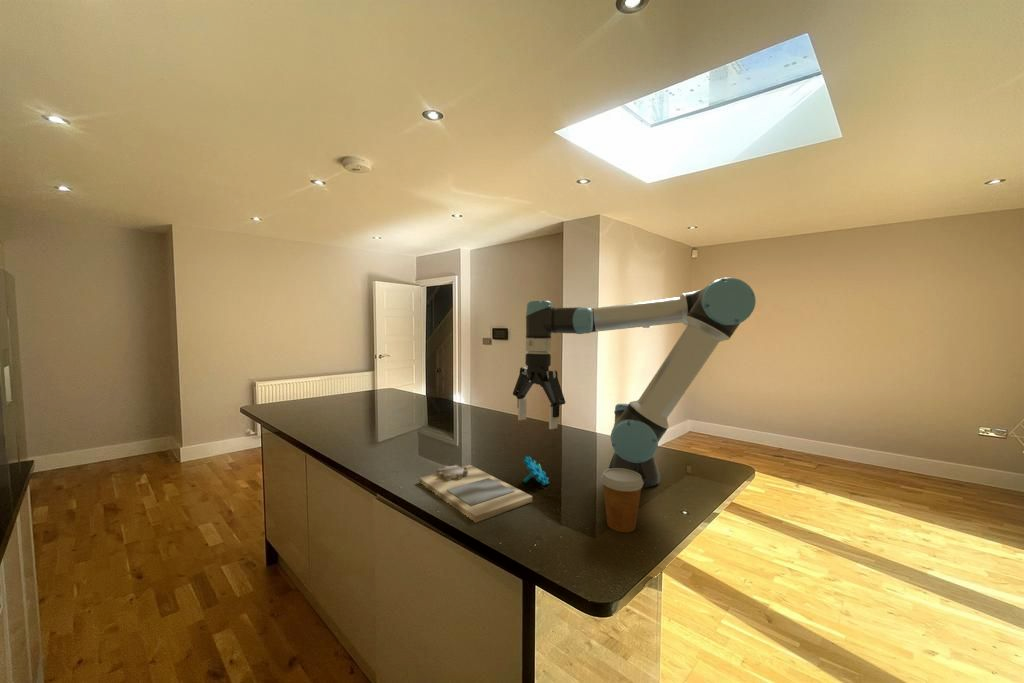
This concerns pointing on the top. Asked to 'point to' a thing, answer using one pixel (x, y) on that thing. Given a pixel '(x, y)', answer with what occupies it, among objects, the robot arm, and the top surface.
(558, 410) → the robot arm
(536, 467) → the gear
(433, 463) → the top surface
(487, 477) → the carrier board
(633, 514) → the disposable coffee cup
